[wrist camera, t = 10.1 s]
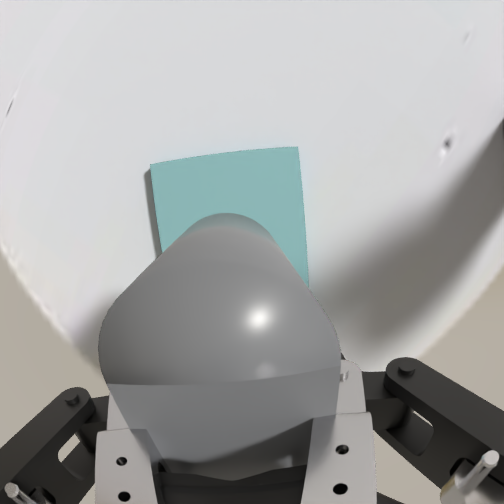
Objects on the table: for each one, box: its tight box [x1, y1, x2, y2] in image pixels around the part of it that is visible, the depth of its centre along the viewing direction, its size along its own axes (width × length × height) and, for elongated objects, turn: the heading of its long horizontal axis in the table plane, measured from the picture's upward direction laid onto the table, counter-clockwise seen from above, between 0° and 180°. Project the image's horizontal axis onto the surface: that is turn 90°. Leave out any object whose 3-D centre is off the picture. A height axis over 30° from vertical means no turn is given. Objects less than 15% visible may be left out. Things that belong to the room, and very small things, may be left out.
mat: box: [150, 147, 309, 288], centre depth 23 cm, size 12×18×1 cm, turn 6°
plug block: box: [98, 213, 341, 481], centre depth 9 cm, size 4×12×7 cm, turn 6°
